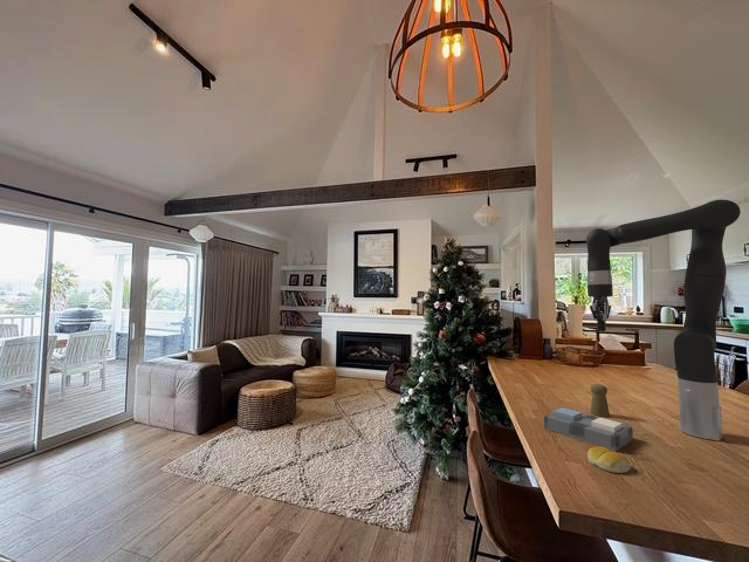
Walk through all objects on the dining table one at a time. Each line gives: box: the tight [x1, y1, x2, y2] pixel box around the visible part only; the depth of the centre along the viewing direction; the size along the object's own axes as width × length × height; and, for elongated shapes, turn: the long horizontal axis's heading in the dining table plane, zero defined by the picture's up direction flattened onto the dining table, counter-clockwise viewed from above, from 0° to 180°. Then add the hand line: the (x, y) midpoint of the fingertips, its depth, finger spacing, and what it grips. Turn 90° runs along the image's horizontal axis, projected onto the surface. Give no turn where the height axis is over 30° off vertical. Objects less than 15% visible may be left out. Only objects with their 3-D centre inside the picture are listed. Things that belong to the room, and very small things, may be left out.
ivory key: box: [591, 417, 623, 433], centre depth 99 cm, size 6×6×2 cm
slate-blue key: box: [553, 407, 582, 421], centre depth 108 cm, size 6×6×2 cm
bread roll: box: [586, 446, 631, 474], centre depth 84 cm, size 8×9×4 cm
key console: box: [543, 412, 634, 452], centre depth 103 cm, size 20×14×4 cm
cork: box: [590, 383, 611, 418], centre depth 121 cm, size 6×6×11 cm
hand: (601, 331), depth 116 cm, fingers closed
